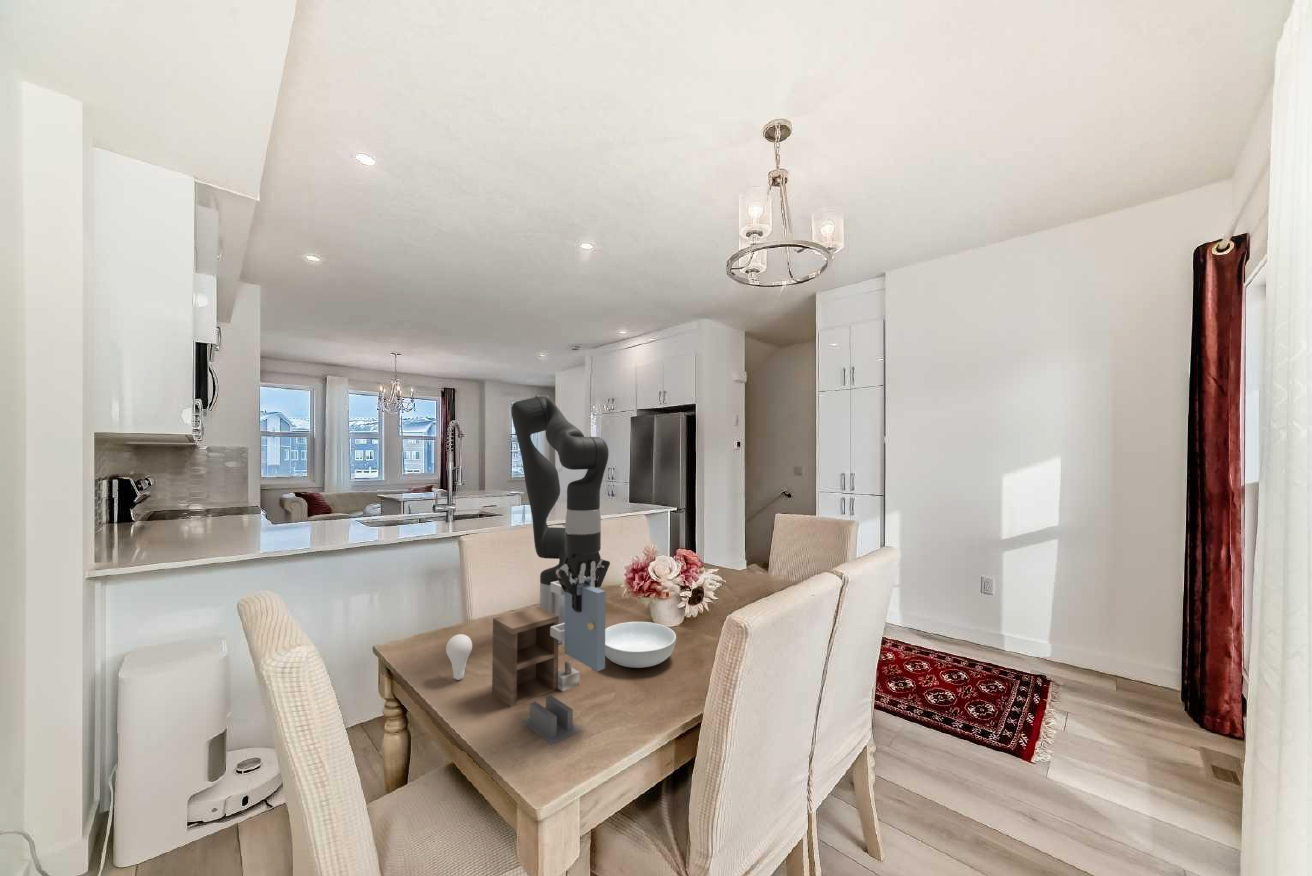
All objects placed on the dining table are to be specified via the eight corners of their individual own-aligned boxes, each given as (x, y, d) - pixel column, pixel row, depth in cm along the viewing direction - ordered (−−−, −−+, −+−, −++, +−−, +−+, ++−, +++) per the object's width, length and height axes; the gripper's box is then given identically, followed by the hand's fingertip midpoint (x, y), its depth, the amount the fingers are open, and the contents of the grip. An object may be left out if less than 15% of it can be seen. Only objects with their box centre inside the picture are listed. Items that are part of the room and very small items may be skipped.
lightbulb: (450, 674, 129) (450, 630, 129) (474, 673, 129) (475, 630, 130) (441, 685, 123) (442, 640, 123) (467, 685, 123) (468, 639, 123)
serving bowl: (583, 666, 134) (584, 640, 134) (625, 640, 153) (625, 617, 153) (653, 685, 124) (653, 656, 124) (688, 654, 143) (688, 629, 143)
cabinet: (553, 673, 130) (554, 602, 130) (579, 688, 122) (580, 613, 122) (492, 696, 118) (493, 618, 118) (515, 714, 110) (516, 631, 110)
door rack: (550, 714, 110) (550, 691, 110) (580, 735, 103) (581, 710, 103) (521, 726, 105) (521, 702, 106) (551, 749, 98) (551, 723, 98)
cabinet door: (565, 643, 118) (566, 574, 118) (609, 666, 106) (609, 590, 106) (550, 649, 115) (550, 578, 115) (592, 673, 103) (593, 594, 103)
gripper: (598, 523, 117) (597, 599, 117) (545, 531, 107) (545, 613, 107) (619, 528, 111) (618, 607, 111) (565, 536, 102) (565, 622, 102)
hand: (582, 609), depth 109 cm, fingers closed on cabinet door, 2 cm apart
